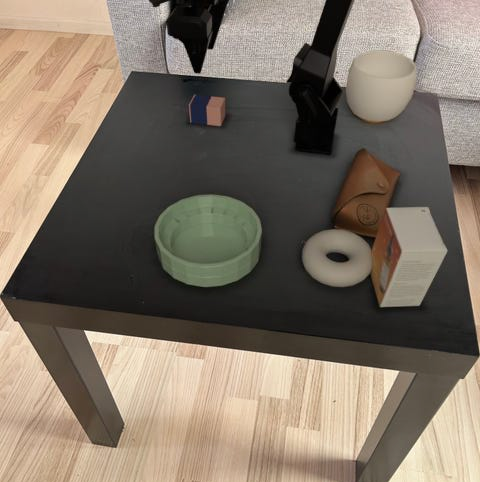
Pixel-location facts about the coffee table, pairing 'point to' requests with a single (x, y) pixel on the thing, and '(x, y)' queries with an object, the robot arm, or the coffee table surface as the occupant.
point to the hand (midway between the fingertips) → (204, 60)
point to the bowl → (208, 240)
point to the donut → (335, 271)
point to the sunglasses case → (364, 195)
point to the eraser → (207, 110)
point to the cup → (380, 85)
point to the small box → (405, 256)
